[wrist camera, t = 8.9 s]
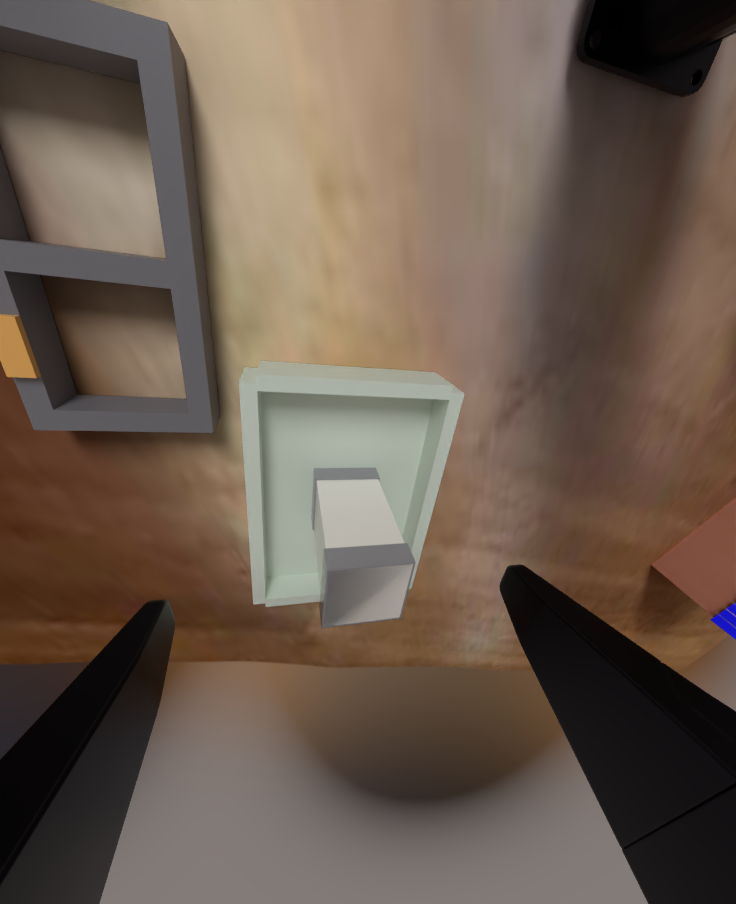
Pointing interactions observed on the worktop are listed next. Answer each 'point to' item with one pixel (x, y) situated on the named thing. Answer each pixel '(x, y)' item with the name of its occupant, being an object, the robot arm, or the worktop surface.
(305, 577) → the parts tray
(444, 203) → the worktop surface
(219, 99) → the worktop surface
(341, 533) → the block
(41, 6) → the socket frame
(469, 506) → the worktop surface
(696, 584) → the house
